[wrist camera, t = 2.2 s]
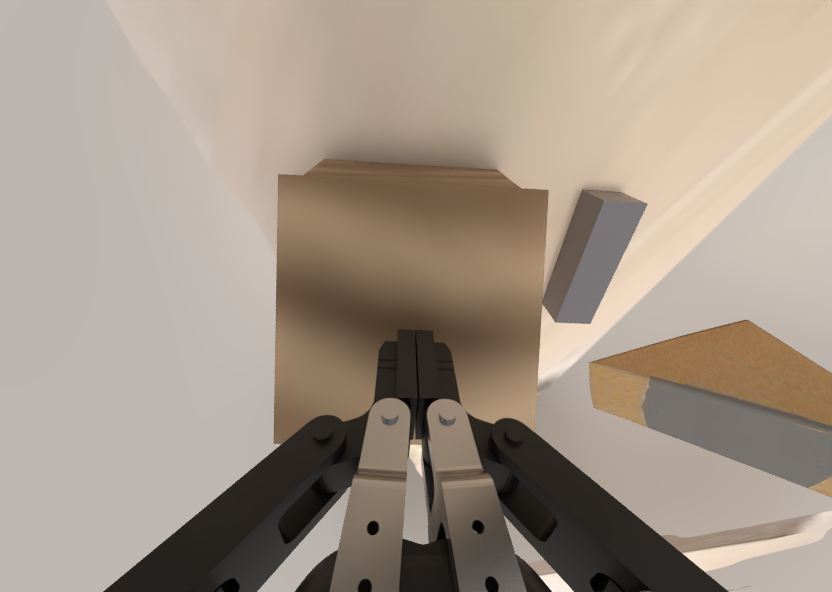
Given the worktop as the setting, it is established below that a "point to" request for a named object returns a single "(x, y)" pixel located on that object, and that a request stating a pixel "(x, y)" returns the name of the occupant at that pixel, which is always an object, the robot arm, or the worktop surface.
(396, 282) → the lid
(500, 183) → the carton
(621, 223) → the gray rectangular block
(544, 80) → the worktop surface
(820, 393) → the sandwich container
